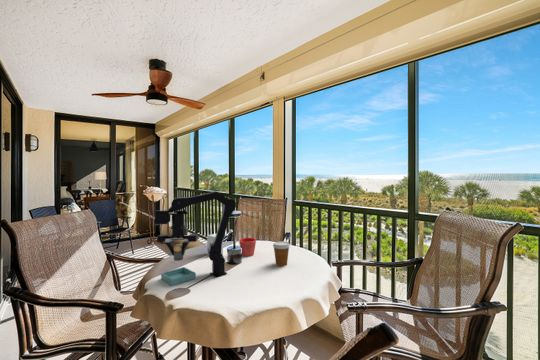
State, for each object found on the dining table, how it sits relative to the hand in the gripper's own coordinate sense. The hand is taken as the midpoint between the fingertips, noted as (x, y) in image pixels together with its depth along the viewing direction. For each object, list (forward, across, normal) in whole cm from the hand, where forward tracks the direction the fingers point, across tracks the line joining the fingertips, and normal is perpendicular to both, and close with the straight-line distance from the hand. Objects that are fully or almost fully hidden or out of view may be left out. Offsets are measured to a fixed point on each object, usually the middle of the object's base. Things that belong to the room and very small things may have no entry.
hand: (178, 255), depth 121 cm
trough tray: (+12, 0, 0) cm, 12 cm away
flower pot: (+12, -31, -38) cm, 51 cm away
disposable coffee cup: (+12, -52, -19) cm, 56 cm away
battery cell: (+2, 0, 0) cm, 2 cm away
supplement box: (+12, -10, -40) cm, 42 cm away
